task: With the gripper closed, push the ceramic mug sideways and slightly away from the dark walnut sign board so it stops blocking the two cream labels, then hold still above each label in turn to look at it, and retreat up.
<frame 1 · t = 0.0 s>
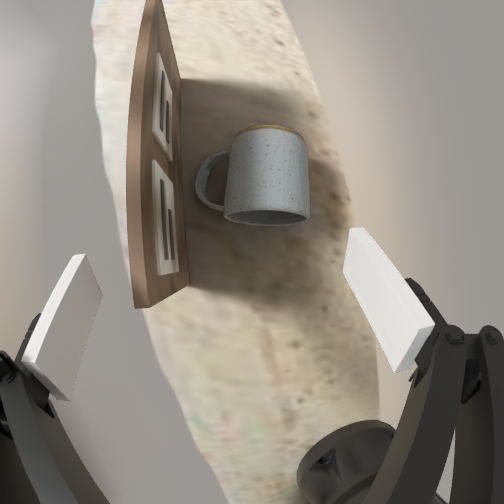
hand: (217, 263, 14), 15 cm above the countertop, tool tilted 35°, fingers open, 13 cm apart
ceramic mug: (250, 190, 30), on the countertop
label board: (177, 168, 29), on the countertop
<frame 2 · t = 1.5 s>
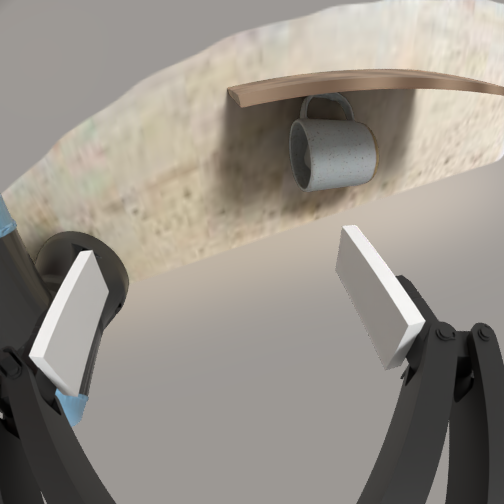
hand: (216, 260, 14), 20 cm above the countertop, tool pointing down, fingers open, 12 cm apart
ceramic mug: (318, 133, 31), on the countertop
label board: (334, 74, 27), on the countertop
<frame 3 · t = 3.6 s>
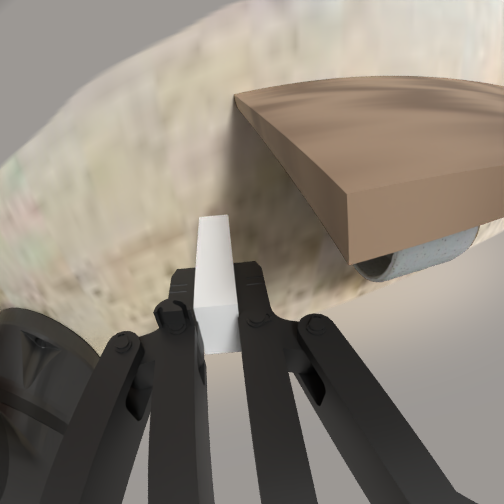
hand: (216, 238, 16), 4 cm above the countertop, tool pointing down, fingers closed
ceramic mug: (381, 169, 19), on the countertop
label board: (411, 81, 15), on the countertop
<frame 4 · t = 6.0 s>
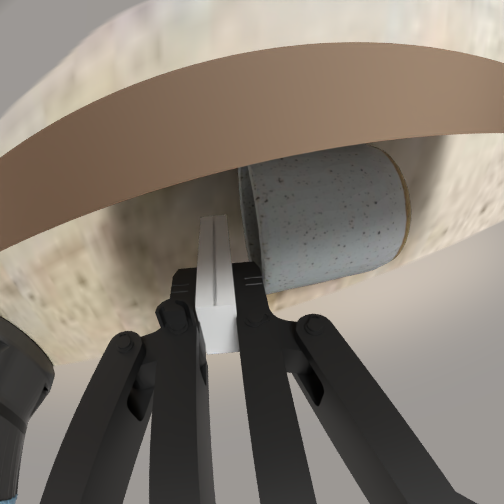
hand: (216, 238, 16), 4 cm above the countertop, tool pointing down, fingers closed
ceramic mug: (295, 164, 18), on the countertop, touching gripper
label board: (305, 68, 14), on the countertop
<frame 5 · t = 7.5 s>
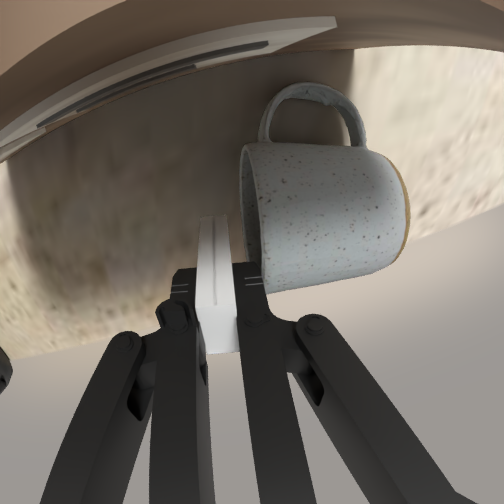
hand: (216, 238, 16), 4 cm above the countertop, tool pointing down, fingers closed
ceramic mug: (297, 167, 18), on the countertop, touching gripper
label board: (152, 78, 13), on the countertop
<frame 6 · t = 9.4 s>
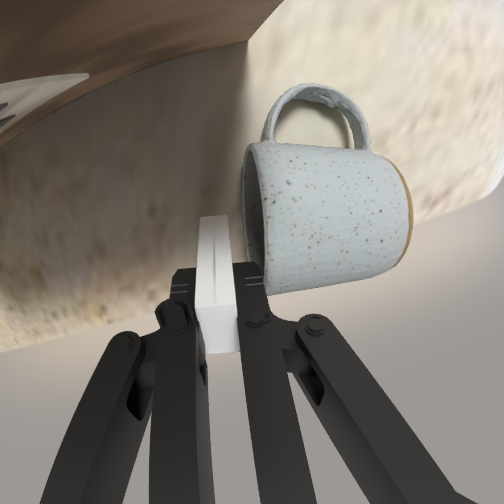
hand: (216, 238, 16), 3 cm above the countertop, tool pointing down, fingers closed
ceramic mug: (300, 168, 18), on the countertop, touching gripper
label board: (56, 103, 13), on the countertop
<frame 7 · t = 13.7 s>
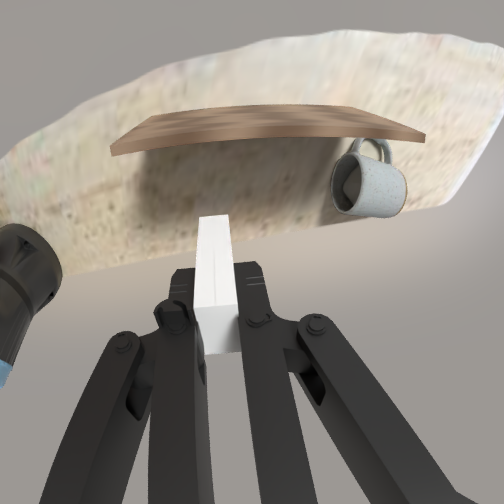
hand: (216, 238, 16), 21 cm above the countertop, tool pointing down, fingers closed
ceramic mug: (358, 167, 36), on the countertop
label board: (255, 108, 30), on the countertop
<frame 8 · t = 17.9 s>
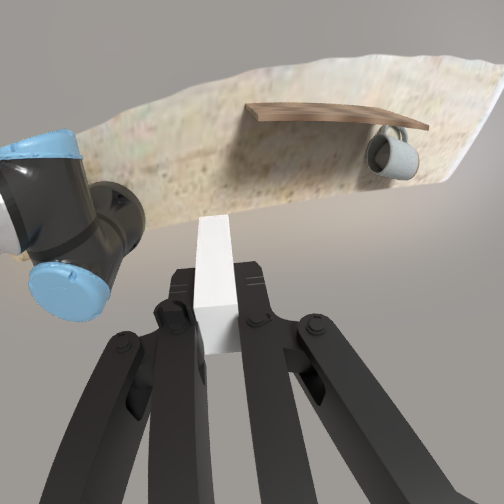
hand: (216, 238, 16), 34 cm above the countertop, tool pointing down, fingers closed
ceramic mug: (384, 145, 48), on the countertop
label board: (317, 105, 43), on the countertop
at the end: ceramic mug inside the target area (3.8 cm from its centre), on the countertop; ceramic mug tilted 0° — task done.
